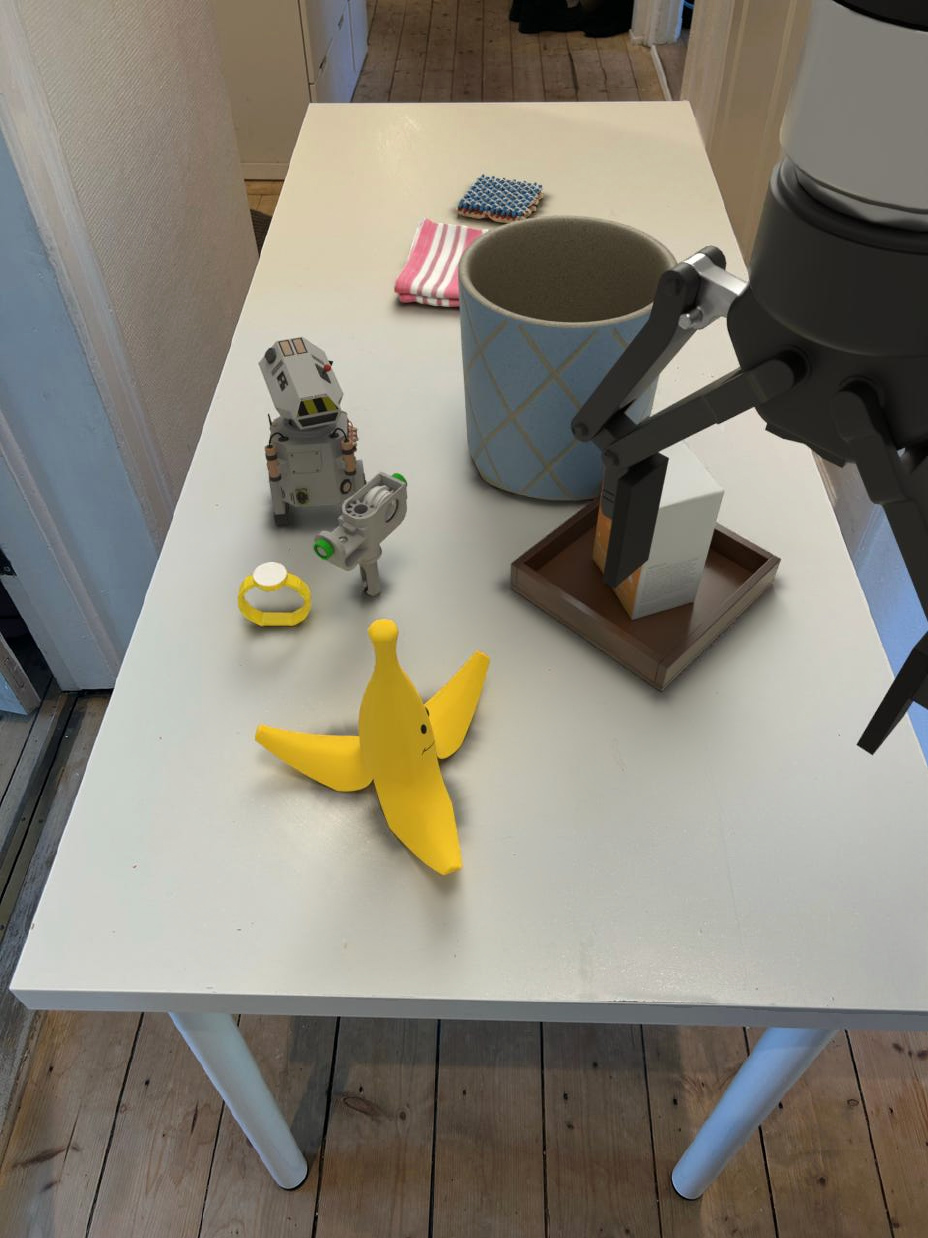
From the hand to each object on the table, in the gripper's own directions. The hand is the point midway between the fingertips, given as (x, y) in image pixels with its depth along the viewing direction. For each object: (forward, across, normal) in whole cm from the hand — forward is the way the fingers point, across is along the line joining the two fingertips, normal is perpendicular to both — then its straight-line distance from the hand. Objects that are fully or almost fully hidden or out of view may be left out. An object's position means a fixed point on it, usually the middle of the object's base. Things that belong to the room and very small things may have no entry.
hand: (742, 645), depth 41 cm
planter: (+27, +36, -31) cm, 55 cm away
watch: (+27, +38, +3) cm, 47 cm away
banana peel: (+27, +22, +7) cm, 35 cm away
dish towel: (+27, +64, -52) cm, 87 cm away
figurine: (+27, +48, -10) cm, 56 cm away
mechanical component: (+27, +35, -5) cm, 44 cm away
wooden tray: (+27, +18, -22) cm, 39 cm away
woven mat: (+27, +77, -67) cm, 106 cm away
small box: (+26, +18, -22) cm, 39 cm away
